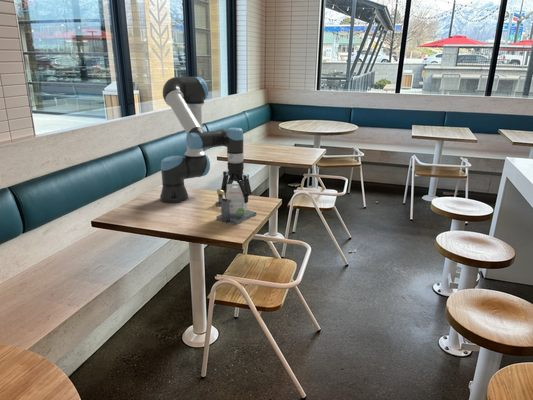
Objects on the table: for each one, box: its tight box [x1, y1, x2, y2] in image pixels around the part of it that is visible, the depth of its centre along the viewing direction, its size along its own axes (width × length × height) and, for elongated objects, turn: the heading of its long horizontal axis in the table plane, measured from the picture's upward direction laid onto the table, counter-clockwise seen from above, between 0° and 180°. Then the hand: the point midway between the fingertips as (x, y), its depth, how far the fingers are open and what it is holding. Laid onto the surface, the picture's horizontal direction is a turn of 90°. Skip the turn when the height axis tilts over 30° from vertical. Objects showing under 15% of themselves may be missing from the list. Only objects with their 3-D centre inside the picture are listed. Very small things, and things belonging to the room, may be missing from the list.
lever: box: [216, 188, 225, 196], centre depth 209 cm, size 17×4×3 cm, turn 55°
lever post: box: [214, 194, 224, 207], centre depth 214 cm, size 6×6×6 cm
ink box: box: [226, 183, 247, 214], centre depth 194 cm, size 9×5×15 cm, turn 84°
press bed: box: [216, 197, 257, 225], centre depth 195 cm, size 12×18×11 cm
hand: (236, 206), depth 195 cm, fingers closed on ink box, 10 cm apart
